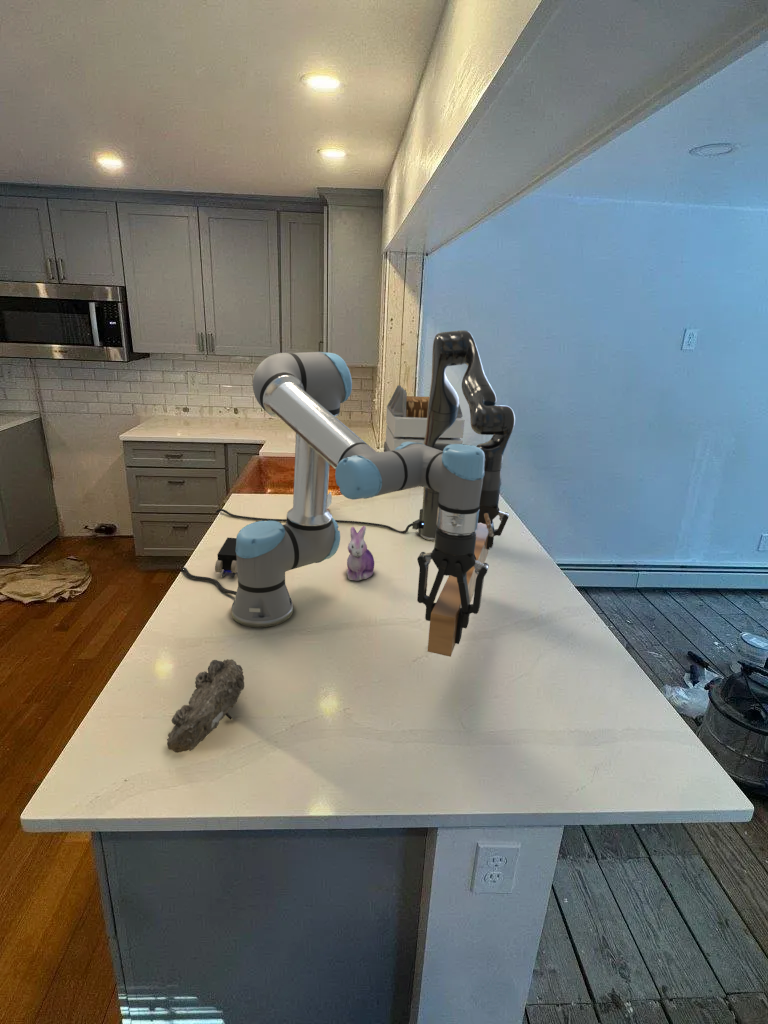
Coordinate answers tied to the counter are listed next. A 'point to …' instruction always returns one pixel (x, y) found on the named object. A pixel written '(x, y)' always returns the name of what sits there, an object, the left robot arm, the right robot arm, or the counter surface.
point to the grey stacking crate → (414, 421)
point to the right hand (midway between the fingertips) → (478, 546)
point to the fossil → (206, 705)
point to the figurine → (359, 557)
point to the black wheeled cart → (227, 558)
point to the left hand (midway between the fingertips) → (445, 637)
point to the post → (454, 602)
